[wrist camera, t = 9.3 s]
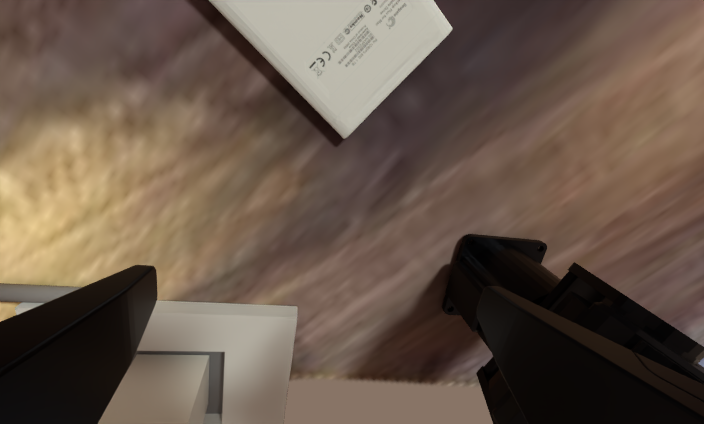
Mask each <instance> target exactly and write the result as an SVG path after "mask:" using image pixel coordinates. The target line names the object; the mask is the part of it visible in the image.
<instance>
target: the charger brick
mask: <svg viewBox="0 0 704 424" xmlns="http://www.w3.org/2000/svg"><path fill="white" fill-rule="evenodd" d="M208 395H209V355H148V354H137V355H136V357H135V358H134V360H133V362H132V364H131V365H130V367H129V369H128V370H127V372H126V374H125V376H124V377H123V379H122V381H121V383H120V384H119V386H118V388H117V390H116V392H115V394H114V395H113V397H112V399H111V401H110V403H109V404H108V406H107V408H106V410H105V412H104V413H103V415H102V417H101V419H100V421H99V422H98V424H203V421H204V417H205V413H206V410H207V406H208Z"/></svg>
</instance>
